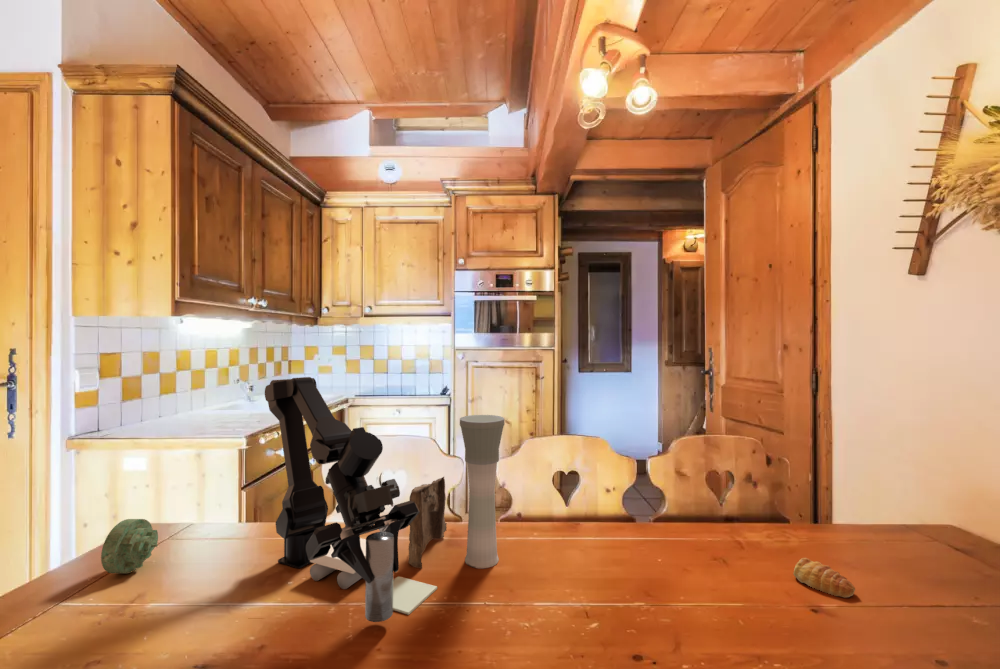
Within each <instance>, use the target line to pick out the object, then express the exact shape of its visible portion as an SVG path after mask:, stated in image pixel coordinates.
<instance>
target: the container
mask: <svg viewBox="0 0 1000 669" xmlns="http://www.w3.org/2000/svg"><path fill="white" fill-rule="evenodd" d="M459 426H460V429H461V433H462V434H461V435H462V440H463V444H464V449H465V452H464V462H465V463H466V464H467V477H468V478H467V479H468V487H469V488H468V489H469V492H468V497H469V498H468V520H467V521H468V522H467V540H466V554H465V555H466V556H465V557H464V561H465V562H464V563H465V564H466V565H467V566H468V567H470V568H474V569H489V568H492V567H494V566H497V564H498V563H499V555H498V544H497V543H498V542H497V524H496V523H497V522H496V498H495V497H496V494H495V487H496V480H497V479H496V478H497V467H498V462H499V461H500V445H501V439H502V437H503V436H502V435H503V430H504V426H505V417H503V416H500V415H495V414H494V415H493V414H472V415H466V416H465V415H464V416H461V417H460V418H459Z"/></svg>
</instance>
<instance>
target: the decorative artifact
mask: <svg viewBox="0 0 1000 669" xmlns="http://www.w3.org/2000/svg"><path fill="white" fill-rule="evenodd" d="M158 533H159V532H158V530H157V529H153V526H152V524H151V522H150V521H148V520H147V519H145V518H128V519H124V520H122V521H119V522H117V524H116V525H114V527H112V529H111V530H110V531H109V533H108V534H107V536H106V538H105V540H104V542H103V545H102V549H101V554H100V562H101V565H102V568H103V570H104V571H105V572H107V573H109V574H129V573H132V572H131V571H133V570H134V571H136V570H137V569H140V568H142V567H143V566H144V562H145V561H146V559H149V558H150V557H151V556H152V551H153V550H155V548H156V547H158V541H159V534H158ZM136 568H137V569H136ZM135 569H136V570H135ZM134 571H133V572H134Z"/></svg>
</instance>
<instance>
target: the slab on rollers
mask: <svg viewBox="0 0 1000 669" xmlns="http://www.w3.org/2000/svg"><path fill="white" fill-rule="evenodd" d="M330 546H331V548H330V550H329V552H328V554H327V555H325V556H322V557H319V558H316V559H314V560H310V562H311V563H312V565H311V566H310V568H309V575H310V577H311V579H312V580H313V581H315V582H317V581H320V580H322V579H323V578H325V577H326V576H328V575H330V574H331V573H333V572H335V571H338V570H339V571H341V572H339V573H338V575H337V577H336V582H337V584H338V587H339V588H341V589H342V590H347V589H348V588H349V587H351V586H352V585H354V584H355V583H357V582H358V581H360V580H362V579H363V578H362V577H361V576H360V575H359V574H358V573H357V572H356V571H355V570H354V569H352V568H351V567H350V566H349V565H348V564H346V563H345V562H343V561H342V560H341V559H339V558H338V557H335V558H332V556H331V554H332V553H333V551H334V550H333V547H332V545H330ZM360 546H361V549H362V551H363V554H364V556H365V559H366V538H361V537H360Z"/></svg>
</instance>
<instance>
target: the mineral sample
mask: <svg viewBox="0 0 1000 669" xmlns="http://www.w3.org/2000/svg"><path fill="white" fill-rule="evenodd" d="M410 500H411V501H413V502H415V503H416V505H417V507H418V509H419V511H420V513H419V514H418V515H417V516H416V517H415V519H414V520H413V521H412V522H411V523H410V525H409V534H408V540H409V544H408V561H407V562H408V564H409V565H410V566H411V567H413V568H415V569H416V568H418V569H423V562H422V555H423V553H424V551H425V550H426V548H427V545H428V544H429V542H430V541H432V540H433V539H442V538H443V537H445V533H446V532H447V527H448V526H447V525H448V524H447V522H446V520H445V512H446V510H445V509H446V501H447V498H446V480H445V476H443V477H441V478H437V479H436V480H432V482H431V483H424V484H423V483H422V484H421V485H420V486H419V485H418V486H415V487H414V488H413V489H412V490H411V492H410V495H409V501H410Z"/></svg>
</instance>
